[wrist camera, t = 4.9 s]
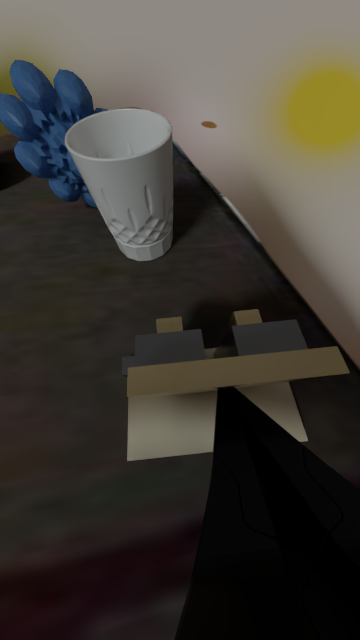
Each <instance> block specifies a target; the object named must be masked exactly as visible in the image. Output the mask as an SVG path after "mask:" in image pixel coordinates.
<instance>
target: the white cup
mask: <svg viewBox="0 0 360 640" xmlns="http://www.w3.org/2000/svg"><path fill="white" fill-rule="evenodd" d="M65 145H66V147H67V149H68V151H69V153H70V155H71V157H72V159H73V161H74V163H75V165H76V167H77V169H78V171H79V173H80V174H81V176H82V178H83V180H84V182H85V184H86V186H87V188H88V190H89V192H90V194H91V196H92V198H93V200H94V202H95V204H96V206H97V208H98V210H99V212H100V213H101V215H102V217H103V218H104V220H105V223H106V225H107V227H108V228H109V230H110V231H111V233H112V234H113V236H114V238H115V240H116V242H117V244H118V246H119V248H120V250H121V251H122V252H123V253H124V254H125V255H126V256H127V257H128V258H130V259H134V260H137V261H151V260H154V259H156V258H159V257H161V256H163V255H164V254H165V253H166V252H167V251H168V250H169V249H170V248H171V244H172V240H173V226H172V224H173V157H172V126H171V124H170V122H169V121H168V120H167V119H166V118H165V117H164V116H162V115H160V114H158V113H155V112H153V111H149V110H144V109H133V108H126V109H114V110H108V111H103V112H99V113H96V114H93V115H90V116H88V117H86V118H84V119H82V120H80V121H78V122H77V123H75V124H74V125H73V126H72V127H71V128H70V129H69V130H68V131H67V133H66V135H65Z"/></svg>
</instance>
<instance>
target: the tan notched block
mask: <svg viewBox="0 0 360 640" xmlns="http://www.w3.org/2000/svg"><path fill="white" fill-rule="evenodd" d="M156 320H157V333H165V332H175V331H183V328H182V319H181V317H173V318H163V319H156ZM228 323H229V328H231V326H235V325H245V324H255V323H262V320H261V317H260V313H259V310H258V309H254V310H244V311H234V312H233V314H232V315H231V317H230V319H229V320H228ZM348 373H350V372H349V370H348V368H347V366H346V364H345V361H344V359H343V357H342V355H341V353H340V351H339V349H338V347H337V346H333V347H324V348H314V349H304V350H295V351H285V352H275V353H266V354H256V355H246V356H236V357H227V358H217V359H207V360H198V361H188V362H178V363H169V364H159V365H149V366H139V367H130V368H128V380H127V397H160V396H169V395H179V394H188V393H197V392H207V391H216V390H217V389H219V388H229V387H235V388H244V387H254V386H263V385H270V384H277V383H284V382H291V381H298V380H305V379H312V378H319V377H326V376H334V375H341V374H348Z"/></svg>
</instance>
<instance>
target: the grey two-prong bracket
mask: <svg viewBox="0 0 360 640" xmlns="http://www.w3.org/2000/svg"><path fill="white" fill-rule="evenodd" d="M304 349H308V347H307V345H306V342H305V340H304V337H303V335H302V332H301V330H300V327H299V325H298V322H297V320H296V319H295V320H285V321H275V322H265V323H255V324H245V325H235V326H231V328H230V329H229V331H228V332H227V334H226V335H225V337H224V338H223V340H222V341H221V343H220V344H219V346H218V347H217V349H216V350H215V352H214V353H213V357H214V359H217V358H227V357H236V356H246V355H256V354H266V353H275V352H285V351H295V350H304ZM198 360H206V357H205V351H204V344H203V338H202V332H201V329H195V330H185V331H175V332H165V333H155V334H145V335H135V354H132V355H129V356H128V357H122V375H123V376H126V377H128V368H130V367H139V366H149V365H159V364H169V363H178V362H188V361H198Z"/></svg>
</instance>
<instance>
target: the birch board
mask: <svg viewBox="0 0 360 640" xmlns="http://www.w3.org/2000/svg"><path fill="white" fill-rule="evenodd" d="M216 349H217V348H210V349H204V351H205V357H206V360H207V359H214V357H213V353H214V352H215V350H216ZM236 389H237V390H239V391H240V392H241V393H242V394H243V395H245V396H246V397H247V398H248V399H249V400H251V401H252V402H253V403H254V404H255V405H256V406H258V407H259V408H260V409H261V410H262V411H264V412H265V413H266V414H267V415H268V416H270V417H271V418H272V419H273V420H274V421H275V422H277V423H278V424H279V425H280V426H281V427H283V428H284V429H285V430H286V431H287V432H288V433H290V434H291V435H292V436H293V437H294V438H296V439H297V440H298V441H299V442H302V441H308V439H307V436H306V433H305V430H304V427H303V424H302V421H301V418H300V415H299V412H298V409H297V406H296V403H295V400H294V397H293V394H292V391H291V388H290V385H289V382H284V383H277V384H270V385H263V386H254V387H244V388H236ZM216 402H217V390H216V391H207V392H197V393H188V394H179V395H169V396H160V397H129V407H128V455H127V461H133V460H142V459H150V458H159V457H168V456H177V455H186V454H195V453H204V452H213V444H214V430H215V416H216Z"/></svg>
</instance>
